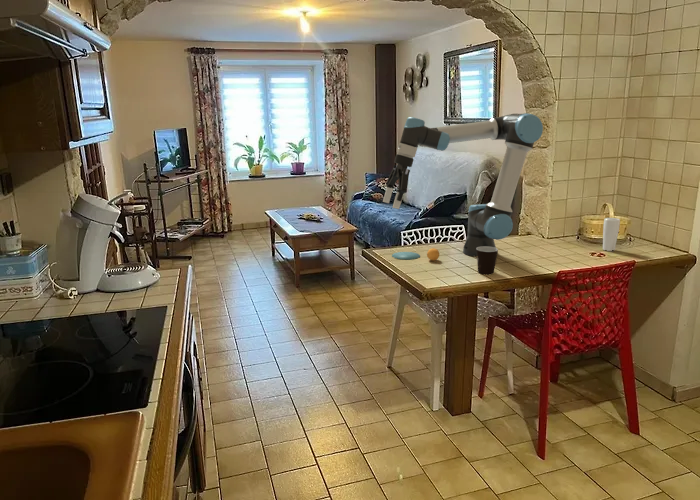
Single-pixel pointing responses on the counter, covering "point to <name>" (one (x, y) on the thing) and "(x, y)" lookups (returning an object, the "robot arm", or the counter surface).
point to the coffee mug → (486, 259)
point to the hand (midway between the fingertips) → (390, 205)
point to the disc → (406, 255)
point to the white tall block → (610, 233)
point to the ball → (433, 254)
